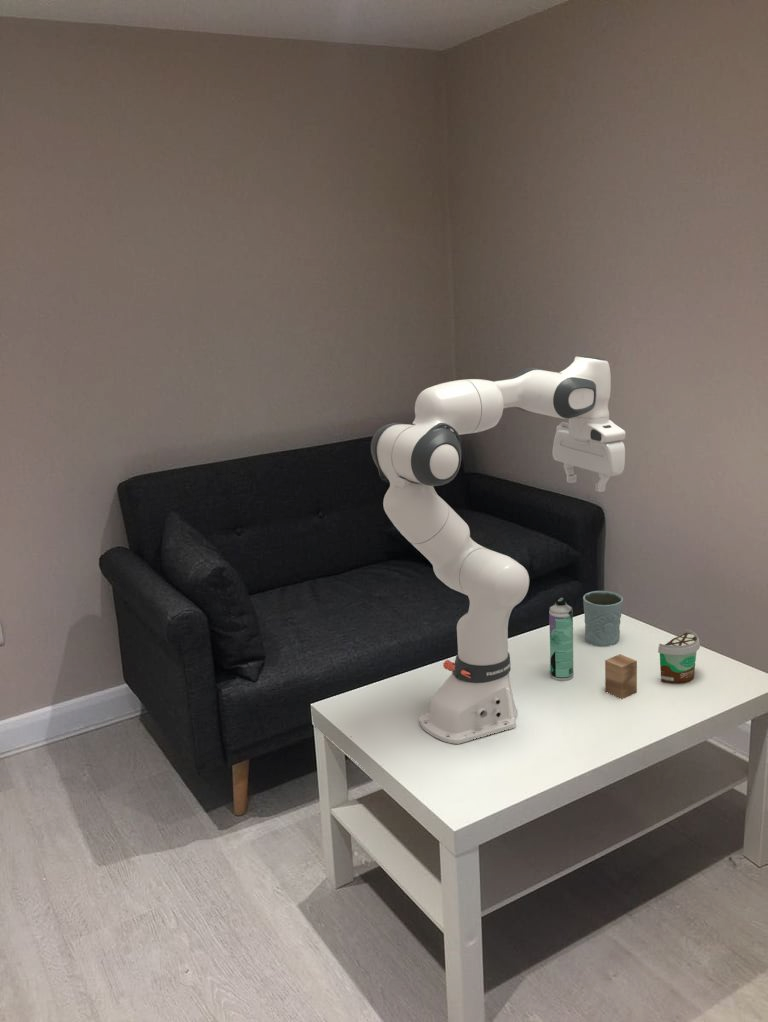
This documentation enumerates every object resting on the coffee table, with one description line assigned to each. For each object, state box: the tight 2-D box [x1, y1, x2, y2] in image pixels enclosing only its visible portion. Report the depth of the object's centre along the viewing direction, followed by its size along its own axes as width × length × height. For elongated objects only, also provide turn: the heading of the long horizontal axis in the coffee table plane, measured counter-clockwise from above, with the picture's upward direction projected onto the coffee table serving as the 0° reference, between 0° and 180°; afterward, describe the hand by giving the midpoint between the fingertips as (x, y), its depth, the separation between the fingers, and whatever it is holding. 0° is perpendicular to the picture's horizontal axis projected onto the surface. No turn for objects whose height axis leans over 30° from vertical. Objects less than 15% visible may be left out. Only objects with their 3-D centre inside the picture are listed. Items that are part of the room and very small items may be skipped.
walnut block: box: [604, 654, 638, 700], centre depth 211 cm, size 5×5×8 cm
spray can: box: [548, 597, 574, 682], centre depth 220 cm, size 6×6×20 cm
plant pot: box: [582, 590, 624, 647], centre depth 239 cm, size 10×10×12 cm
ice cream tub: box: [657, 628, 701, 685], centre depth 215 cm, size 12×6×10 cm, turn 131°
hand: (585, 486), depth 211 cm, fingers open, 8 cm apart
